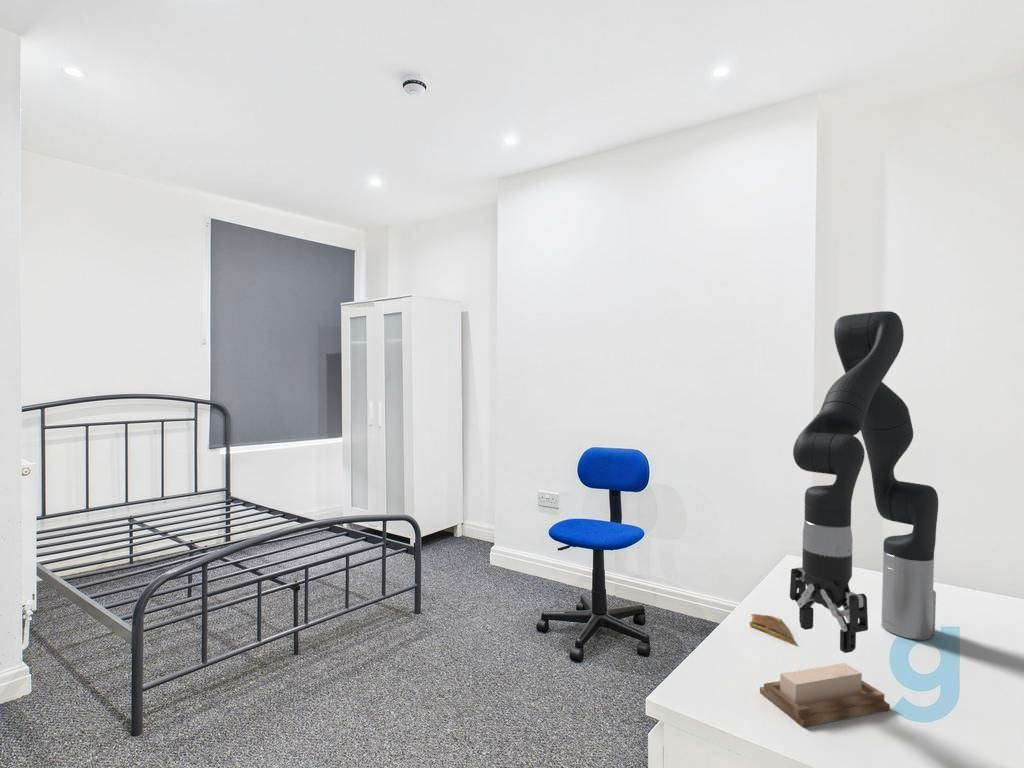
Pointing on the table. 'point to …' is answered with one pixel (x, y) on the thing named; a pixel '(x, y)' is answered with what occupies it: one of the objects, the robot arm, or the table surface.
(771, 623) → the shard
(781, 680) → the beige rectangular block
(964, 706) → the table surface
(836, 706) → the brown wooden tray
